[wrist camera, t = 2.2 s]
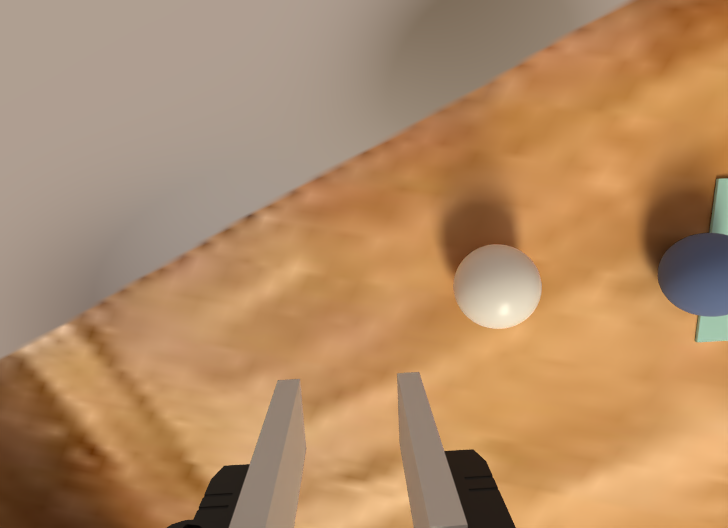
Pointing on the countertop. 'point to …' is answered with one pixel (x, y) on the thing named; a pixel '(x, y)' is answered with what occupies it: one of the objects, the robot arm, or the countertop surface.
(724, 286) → the object ball
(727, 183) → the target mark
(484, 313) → the cue ball
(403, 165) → the countertop surface
